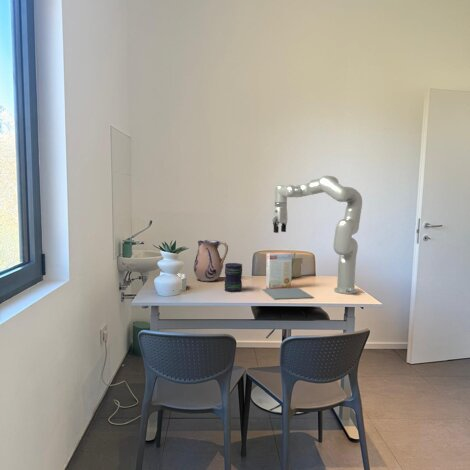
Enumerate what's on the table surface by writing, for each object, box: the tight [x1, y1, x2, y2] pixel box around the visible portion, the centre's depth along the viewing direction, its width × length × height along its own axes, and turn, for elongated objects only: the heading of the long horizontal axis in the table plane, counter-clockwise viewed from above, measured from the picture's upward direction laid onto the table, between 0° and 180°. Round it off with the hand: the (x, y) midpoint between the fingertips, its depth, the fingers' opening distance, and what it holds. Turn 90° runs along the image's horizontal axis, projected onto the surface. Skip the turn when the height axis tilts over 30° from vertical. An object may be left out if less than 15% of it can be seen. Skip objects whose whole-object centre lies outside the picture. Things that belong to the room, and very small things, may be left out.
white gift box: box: [175, 272, 187, 293], centre depth 233 cm, size 10×13×9 cm
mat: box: [262, 287, 314, 301], centre depth 229 cm, size 22×22×1 cm
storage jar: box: [224, 262, 243, 293], centre depth 233 cm, size 10×10×18 cm
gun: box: [291, 256, 304, 279], centre depth 272 cm, size 24×3×15 cm, turn 143°
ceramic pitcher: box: [193, 239, 229, 282], centre depth 259 cm, size 18×21×25 cm
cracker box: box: [265, 252, 293, 289], centre depth 242 cm, size 14×6×21 cm, turn 106°
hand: (279, 232), depth 262 cm, fingers open, 9 cm apart
